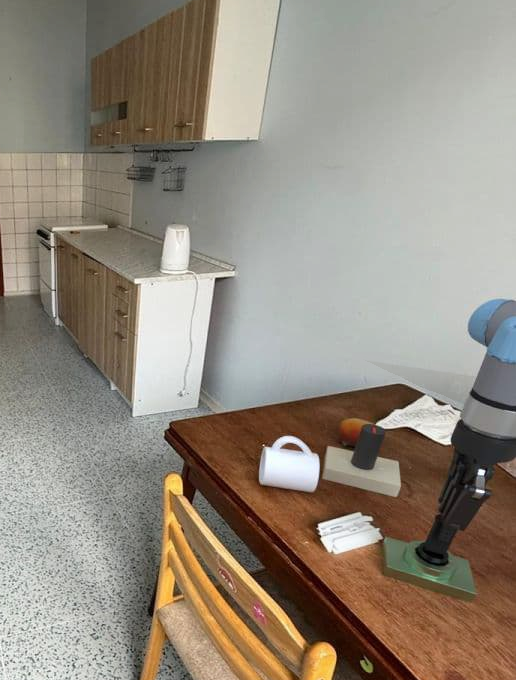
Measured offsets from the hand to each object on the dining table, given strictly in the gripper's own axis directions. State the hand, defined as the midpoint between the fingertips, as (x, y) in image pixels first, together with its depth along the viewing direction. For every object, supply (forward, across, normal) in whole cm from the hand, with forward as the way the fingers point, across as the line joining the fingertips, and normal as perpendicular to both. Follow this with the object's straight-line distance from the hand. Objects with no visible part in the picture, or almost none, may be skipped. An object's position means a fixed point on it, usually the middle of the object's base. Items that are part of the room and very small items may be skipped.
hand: (434, 549), depth 78 cm
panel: (+5, +26, +10) cm, 28 cm away
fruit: (+6, +40, +11) cm, 42 cm away
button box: (+5, 0, 0) cm, 5 cm away
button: (+2, 0, 0) cm, 2 cm away
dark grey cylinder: (+2, +26, +10) cm, 28 cm away
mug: (+6, +15, +24) cm, 29 cm away
